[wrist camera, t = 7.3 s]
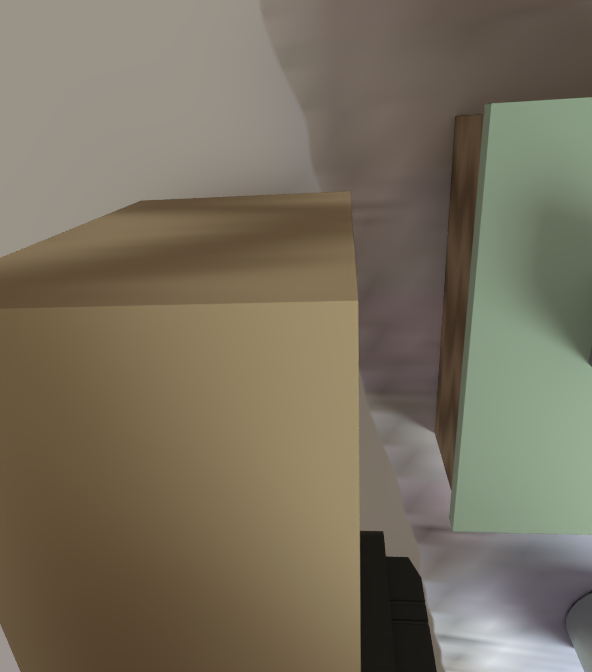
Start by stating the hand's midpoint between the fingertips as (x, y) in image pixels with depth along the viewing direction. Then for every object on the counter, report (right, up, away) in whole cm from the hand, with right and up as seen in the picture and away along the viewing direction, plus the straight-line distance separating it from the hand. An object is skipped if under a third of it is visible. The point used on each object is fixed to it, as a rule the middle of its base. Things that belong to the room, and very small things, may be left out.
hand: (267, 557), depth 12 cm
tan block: (0, 0, +1) cm, 1 cm away
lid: (+18, +5, +16) cm, 24 cm away
